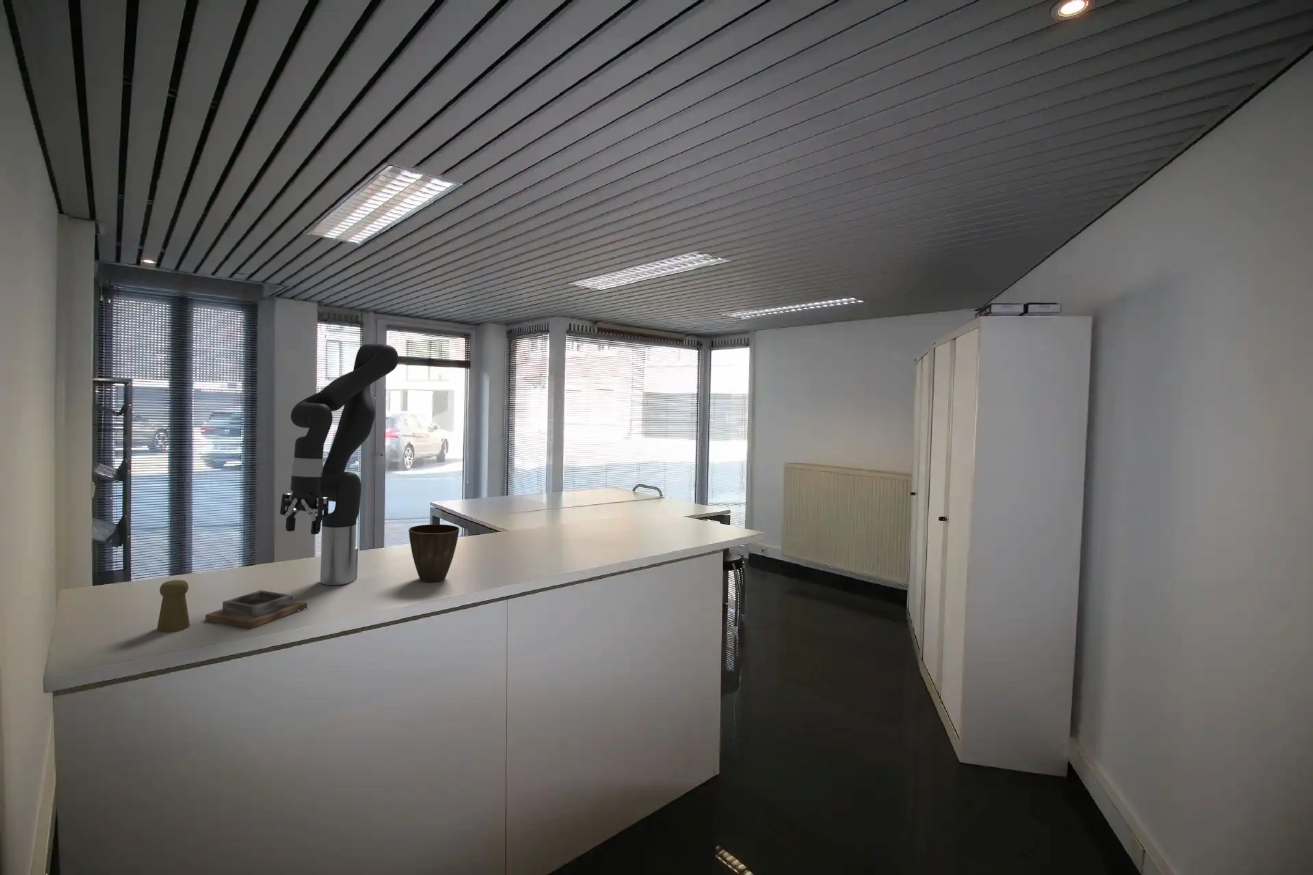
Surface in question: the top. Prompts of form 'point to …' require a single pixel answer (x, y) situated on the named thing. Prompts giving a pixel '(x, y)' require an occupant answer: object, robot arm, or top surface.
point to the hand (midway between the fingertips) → (302, 532)
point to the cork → (173, 607)
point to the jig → (255, 609)
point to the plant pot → (433, 550)
